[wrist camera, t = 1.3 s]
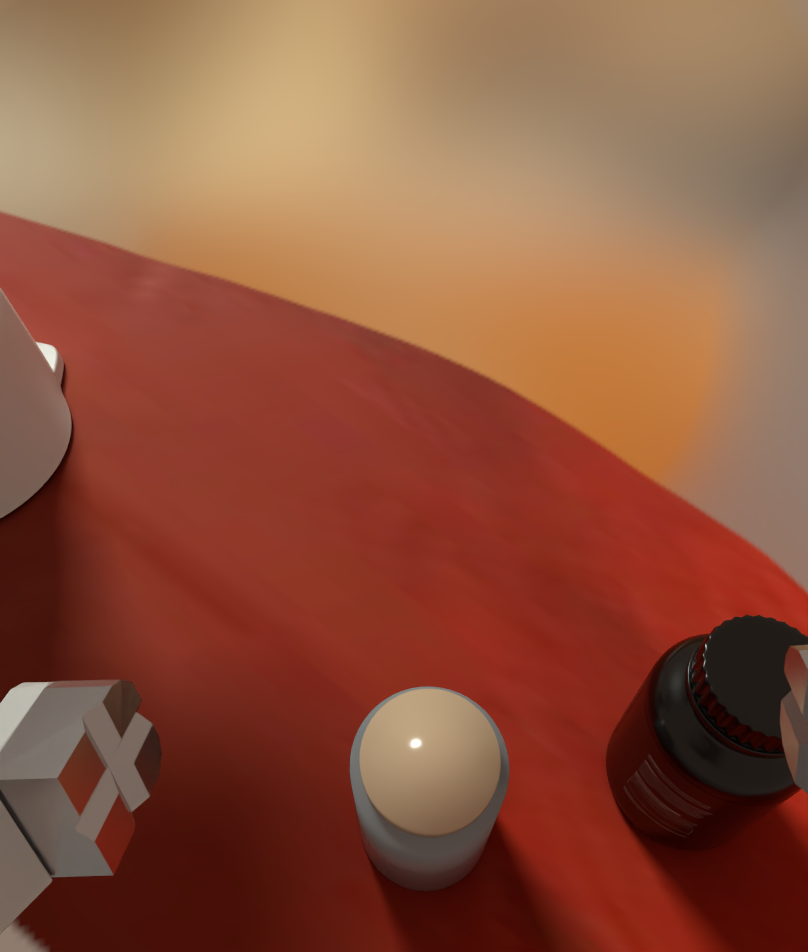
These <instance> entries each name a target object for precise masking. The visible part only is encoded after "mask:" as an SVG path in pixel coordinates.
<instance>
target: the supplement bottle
mask: <svg viewBox="0 0 808 952" xmlns="http://www.w3.org/2000/svg"><path fill="white" fill-rule="evenodd" d="M797 645H808V637H807V636H805V635H803V634H801V633H800V631H799V630H798V629H796V628H793V627H790V626H789V625H788V624H786V623H785V622H780V621H777V620H775V619H773V618H765V617H762V616H760V615H758V616H754V617H753V616H749V615H745V616H744V617H734V618H733V619H732V620H727V621H724V622H723V623H722V624H721V625H720V626H717V627H715V628H714V629H713V630H712V632H711V633H709V634H701V635H697V636H693V637H690V638H687V639H684V640H682V641H680V642H678V643H677V644H675V645H673V646H672V647H671V648H669V649H668V650H667V651H666V652H665V653H664V654H663V655H662V656H661V657H660V659H659V660H658V661H657V662H656V664H655V665H654V667H653V668H652V670H651V671H650V673H649V674H648V676H647V678H646V679H645V681H644V682H643V684H642V686H641V687H640V689H639V690H638V692H637V694H636V695H635V697H634V698H633V700H632V702H631V703H630V705H629V706H628V708H627V710H626V711H625V713H624V714H623V716H622V717H621V719H620V721H619V722H618V724H617V726H616V728H615V729H614V731H613V733H612V735H611V738H610V741H609V744H608V748H607V754H606V770H607V776H608V781H609V784H610V788H611V790H612V793H613V795H614V797H615V799H616V801H617V803H618V805H619V806H620V808H621V809H622V811H623V812H624V814H625V815H626V816H627V817H628V819H629V820H630V821H631V822H632V823H633V824H634V825H635V826H636V827H637V828H639V829H640V830H641V831H642V832H643V833H645V834H646V835H648V836H649V837H651V838H652V839H654V840H656V841H658V842H660V843H662V844H665V845H667V846H670V847H674V848H677V849H683V850H692V851H693V850H705V849H710V848H714V847H716V846H719V845H721V844H723V843H725V842H727V841H729V840H730V839H732V838H733V837H735V836H736V835H738V834H739V833H741V832H742V831H744V830H745V829H746V828H748V827H749V826H751V825H752V824H753V823H755V822H756V821H758V820H759V819H760V818H762V817H763V816H765V815H766V814H767V813H769V812H770V811H772V810H773V809H774V808H776V807H777V806H779V805H780V804H782V803H783V802H784V801H786V800H787V799H789V798H790V797H791V796H793V795H794V794H795V793H797V792H798V791H799V790H800V789H801V788H800V787H799V786H798V785H796V784H795V782H794V779H793V777H792V774H791V771H790V769H789V766H788V763H787V759H786V755H785V752H784V748H783V743H782V734H781V726H780V712H781V700H782V699H783V698H784V697H785V696H786V695H787V694H788V693H789V692H790V691H791V690H792V689H791V687H790V685H789V682H788V680H787V678H786V675H785V673H784V667H785V658H786V653H787V651H788V649H789V647H790V646H797Z"/></svg>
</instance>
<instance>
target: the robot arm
mask: <svg viewBox="0 0 808 952" xmlns="http://www.w3.org/2000/svg"><path fill="white" fill-rule="evenodd" d="M63 369H64V362H63V359H62V357H61V355H60V354H59V352H58V351H57V349H56V348H55V347H53V346H51V345H48V344H43V343H38V342H35V341H34V339H33V337H32V336H31V334H30V333H29V331H28V330H27V328H26V326H25V325H24V323H23V322H22V320H21V319H20V317H19V316H18V314H17V312H16V311H15V309H14V308H13V306H12V305H11V303H10V302H9V300H8V299H7V297H6V296H5V294H4V292H3V291H2V289H1V288H0V518H2V517H4V516H5V515H7V514H8V513H10V512H12V511H13V510H15V509H16V508H17V507H19V506H20V505H22V504H23V503H24V502H25V501H27V500H28V499H29V498H30V497H31V496H33V495H34V494H35V493H36V492H37V491H38V490H39V489H40V488H41V487H42V486H43V485H44V484H45V483H46V482H47V480H48V479H49V478H50V477H51V475H52V474H53V473H54V471H55V470H56V468H57V467H58V465H59V464H60V462H61V460H62V458H63V456H64V454H65V452H66V449H67V447H68V444H69V440H70V435H71V415H70V410H69V407H68V405H67V402H66V400H65V398H64V396H63V394H62V390H61V386H60V385H61V380H62V375H63ZM784 673H785V675H786V678H787V680H788V682H789V685H790V687H791V689H792V690H791V691H790V692H789V693H788V694H787V695H786V696H785V697H784V698H783V699H782V700H781V712H780V726H781V734H782V743H783V748H784V752H785V755H786V759H787V763H788V766H789V769H790V771H791V774H792V777H793V779H794V782H795V784H796V785H798V786H799V787H800V788H801V789H803V790H804V791H805V792H806V793H808V645H797V646H790V647H789V649H788V651H787V653H786V658H785V667H784ZM141 701H142V700H141V698H140V696H139V694H138V692H137V690H136V688H135V686H134V685H133V683H132V682H130V681H125V680H82V681H55V682H25V683H21V684H20V685H18V686H16V687H14V688H12V689H11V690H10V691H9V692H8V694H7V695H6V696H5V698H4V699H3V700H2V702H1V703H0V934H1V933H2V932H3V931H4V930H5V929H6V928H7V927H8V926H9V925H10V924H11V923H12V922H13V921H14V920H15V919H16V918H17V917H18V916H19V915H20V914H21V913H22V912H23V911H24V910H25V909H26V908H27V907H28V906H29V904H30V903H31V902H32V901H33V900H34V899H35V898H36V897H37V896H38V895H39V894H40V893H41V892H42V891H43V890H44V889H45V888H46V887H47V886H48V885H49V884H50V883H51V882H52V878H51V877H75V876H107V875H114V874H115V872H116V870H117V868H118V865H119V863H120V861H121V859H122V857H123V854H124V852H125V850H126V848H127V846H128V844H129V841H130V839H131V837H132V835H133V833H134V831H135V828H136V825H135V821H134V817H133V814H132V812H133V811H134V810H135V809H136V808H137V807H138V806H139V805H141V804H142V803H143V802H144V801H145V800H146V799H148V798H149V797H150V795H151V793H152V790H153V788H154V786H155V783H156V781H157V779H158V776H159V769H160V761H161V748H160V741H159V736H158V734H157V732H156V730H155V727H154V725H153V724H152V723H151V722H150V721H148V720H147V719H145V718H144V717H143V716H141V715H140V714H138V713H137V710H138V708H139V705H140V703H141Z"/></svg>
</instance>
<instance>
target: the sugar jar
mask: <svg viewBox="0 0 808 952" xmlns="http://www.w3.org/2000/svg"><path fill="white" fill-rule="evenodd" d="M350 777H351V784H352V789H353V795H354V800H355V806H356V811H357V817H358V822H359V828H360V833H361V838H362V842H363V845H364V848H365V850H366V852H367V854H368V856H369V858H370V860H371V861H372V863H373V864H374V866H375V867H376V868H377V869H378V870H379V871H380V872H381V873H382V874H383V875H384V876H385V877H386V878H388V879H389V880H391V881H392V882H394V883H395V884H397V885H400V886H402V887H404V888H407V889H411V890H416V891H434V890H440V889H443V888H446V887H449V886H451V885H453V884H455V883H457V882H458V881H460V880H461V879H462V878H464V877H465V876H466V875H467V874H468V873H469V872H470V871H471V870H472V869H473V868H474V866H475V865H476V864H477V862H478V860H479V859H480V857H481V855H482V853H483V851H484V848H485V846H486V843H487V841H488V838H489V836H490V833H491V831H492V828H493V826H494V823H495V820H496V818H497V815H498V813H499V810H500V808H501V805H502V803H503V800H504V797H505V794H506V791H507V786H508V780H509V760H508V754H507V749H506V746H505V743H504V740H503V737H502V735H501V733H500V731H499V729H498V727H497V726H496V724H495V723H494V721H493V720H492V718H491V717H490V716H489V715H488V714H487V713H486V711H484V710H483V709H482V708H481V707H480V706H479V705H478V704H476V703H475V702H474V701H472V700H471V699H469V698H467V697H466V696H464V695H462V694H460V693H457V692H455V691H452V690H448V689H444V688H438V687H417V688H411V689H408V690H404V691H401V692H399V693H396V694H394V695H392V696H390V697H389V698H387V699H385V700H384V701H383V702H381V703H380V704H379V705H377V706H376V707H375V708H374V709H373V710H372V711H371V712H370V713H369V715H368V716H367V717H366V718H365V720H364V721H363V723H362V725H361V726H360V728H359V730H358V732H357V734H356V737H355V739H354V742H353V746H352V750H351V756H350Z"/></svg>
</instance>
